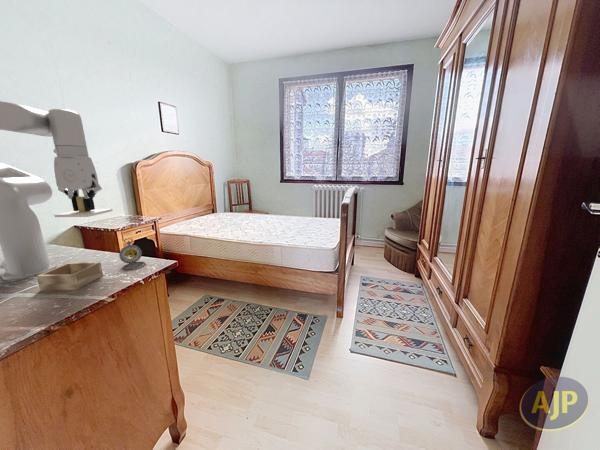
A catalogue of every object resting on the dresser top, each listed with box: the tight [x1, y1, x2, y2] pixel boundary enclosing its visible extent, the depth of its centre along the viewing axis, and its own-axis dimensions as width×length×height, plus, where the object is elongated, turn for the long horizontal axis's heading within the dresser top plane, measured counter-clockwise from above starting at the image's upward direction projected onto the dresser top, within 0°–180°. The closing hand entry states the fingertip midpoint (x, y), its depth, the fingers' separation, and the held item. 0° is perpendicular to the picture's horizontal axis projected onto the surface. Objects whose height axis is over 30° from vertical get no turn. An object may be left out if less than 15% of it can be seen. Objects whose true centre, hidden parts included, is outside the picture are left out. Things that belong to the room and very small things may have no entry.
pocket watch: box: [118, 237, 146, 271], centre depth 86 cm, size 8×8×10 cm
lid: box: [53, 195, 113, 218], centre depth 81 cm, size 10×10×6 cm
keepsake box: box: [36, 261, 104, 292], centre depth 74 cm, size 10×10×5 cm
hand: (84, 209), depth 82 cm, fingers closed on lid, 3 cm apart
